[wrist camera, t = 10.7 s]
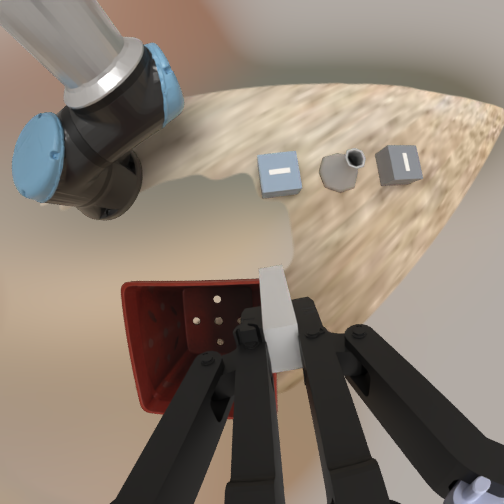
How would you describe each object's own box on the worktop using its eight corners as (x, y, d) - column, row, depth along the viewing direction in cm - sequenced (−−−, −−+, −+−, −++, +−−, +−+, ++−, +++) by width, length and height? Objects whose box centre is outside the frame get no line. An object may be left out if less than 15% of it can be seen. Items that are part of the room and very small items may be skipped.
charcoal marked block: (380, 185, 48) (395, 179, 42) (374, 154, 48) (387, 145, 41) (408, 184, 48) (424, 178, 41) (402, 154, 47) (416, 145, 41)
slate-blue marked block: (262, 198, 49) (262, 192, 42) (257, 165, 48) (257, 155, 42) (298, 194, 48) (303, 187, 42) (292, 160, 48) (296, 150, 42)
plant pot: (172, 367, 50) (141, 413, 34) (162, 268, 50) (118, 282, 33) (273, 368, 50) (277, 419, 33) (270, 265, 49) (275, 279, 32)
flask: (317, 153, 48) (329, 133, 38) (355, 154, 48) (375, 137, 38) (319, 192, 48) (333, 181, 38) (358, 193, 48) (380, 183, 38)
